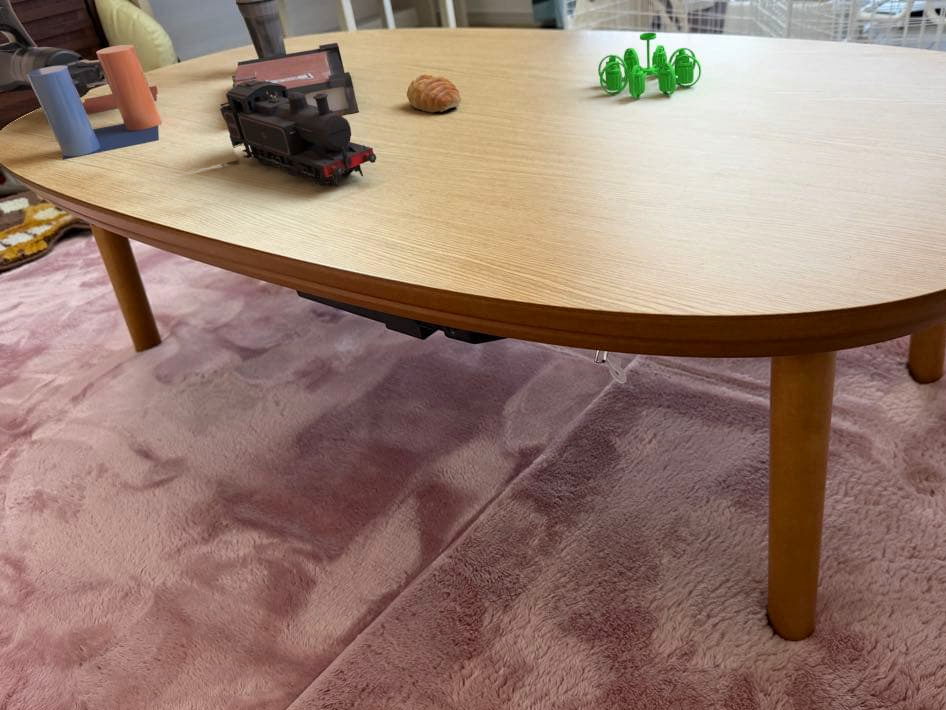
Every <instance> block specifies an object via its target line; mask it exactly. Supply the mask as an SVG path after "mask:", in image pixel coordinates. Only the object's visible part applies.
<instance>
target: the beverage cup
mask: <svg viewBox="0 0 946 710" xmlns="http://www.w3.org/2000/svg"><path fill="white" fill-rule="evenodd" d="M235 5H237V8H238V11H239V13H240V15H241V17H242V19H243V21H244V23H245V26H246V28H247V32H248V35H249V36H250V39H251V42H252V45H253V47H254V50H255V53H256V55H257V59H260V58H266V57H272V56H278V55H284V54H287V51H286V50H287V49H286V45H285V41H284V40H285V38H284V35H283V29H282V24H281V19H280V13H279V11H280V10H279V1H278V0H235Z"/></svg>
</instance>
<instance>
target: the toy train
mask: <svg viewBox="0 0 946 710" xmlns="http://www.w3.org/2000/svg"><path fill="white" fill-rule="evenodd" d="M275 91H277V92H278V96H275V93H274V92H275ZM225 96H226V99H227V102H224V103H220V107H221V108H219V110H220V113H221V116H222V118H223V120H224V122H225V125H226V127H227V130H228V134H229V139H230V143H231V145H232V146H233V147H236V146H240V145H243V146H244V148H245V149H242V150H241V152H243V153H246V155H242V158H244V159H251V158H252V159H255V160H257V161H258V162H259V164H261V165H263V166H266V165H268V166H270V165H272V166H275V167H278V168H280V169H283V170H284V171H285V172H286V173H287V174H288V175H291V176H296V177H300V176H303V177H306V178H309V179H311V180H312V182H313V183H315V184H316V185H327V184H330V182H331V181H330V177H332V180H333V183H334V186H335V187H336V188H337V187H338V183H337V176H339V177H340V176H341V177H342V175H343V174H346V175H350V174H352V173H353V172H356V173H357V172H359V174H360V176H361V177H364V173H363V170H362V167H361V165H362V164H365V163H368V162H369V163H371V164H373V163H376V160H377V156H376V154H375V153H374V148H373V147H370V146H367V145H364V144H363V145H362V144H359V143H357V142H352V141H351V136H352V127H351V125H350V122H349V121H348V119H347V118H345V117H344V116H343V115H337V114H333V111H332V110H329V105H328V101H327V96H328V95H327V94H325V93H323V94H317V95H315V96H314V97H313V98H314V99H315V100H316V104H317V106H313V105H309V104H307V101H306V98H305V95H303V94H302V93H300V92H293V93H291V95H290V96H288V93H287V89H286V86H282V85H280V84H276V83H271V82H267V81H255V80H253V81H245V82H243V83H240V84H238V85H237V86H235V87H234V88H233V87H232V88H231V89H230V90H229V91H227V92H226V94H225ZM235 99H236V100H235ZM273 158H276V159H278V160H275V159H273ZM301 167H302V168H305V170H304V169H302V168H301Z"/></svg>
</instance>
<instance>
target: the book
mask: <svg viewBox="0 0 946 710" xmlns="http://www.w3.org/2000/svg"><path fill="white" fill-rule="evenodd" d="M342 59H343V58H342V55H341V51H340V46H339V44H338V42H333V43H326V44H319V45H318V48H316V49H315V48H314V49H309V50H303V51H297V52H291V53H286V54H284V55H278V56H272V57H266V58H260V59H259V58H255V59H249V60H243V61H238V62H237V67H236V73H235V75H231V80H232V89H233V88H234V87H235V86H237V85H238V84H240V83H243V82H245V81H253V80H255V81H267V82H271V83H276V84H280V85H282V86H286V89H287V93H288V96H290V95H291V93H293V92H300V93H302V94H303V95H305V98H306V101H307V104H309V105H313V106H317V104H316V100H315V99H314V98H313V97H314V96H315V95H317V94H323V93H325V94H327V95H328V96H327V101H328V105H329V110H332V111H333V114H337V115H340V116H345V115H350V114H351V115H352V114H357V113H360V110H359V106H358V101H357V97H356V93H355V87H354V83H353V80H352V76H351V73H350V72H349V71H345V69H344V64H343V60H342ZM274 93H275V96H278V92H277V91H275V92H274ZM235 100H236V99H235Z"/></svg>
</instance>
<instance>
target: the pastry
mask: <svg viewBox="0 0 946 710" xmlns="http://www.w3.org/2000/svg"><path fill="white" fill-rule="evenodd" d="M406 98H407V100H408V102H409V104H410V105H411V106H413V107H414V108H415V109H417V110H421V111H424V112H427V113H432V114H433V113H436V112H440V113H443V112H444V111H447V110H449V109H451V108H456V107H459V106H460V104H461V102H462V97H461V95H460V91H459V89H458V88H457V86H456V85H455V84H454V83H452V81H451V80H450V79H449V78H445V77H444V76H435V75H432V74H427V73H426V74H420V75H419V76H417V77H416V78H415V79H413V80H411V83H410V84H409V85H408V87H407V91H406Z"/></svg>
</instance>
